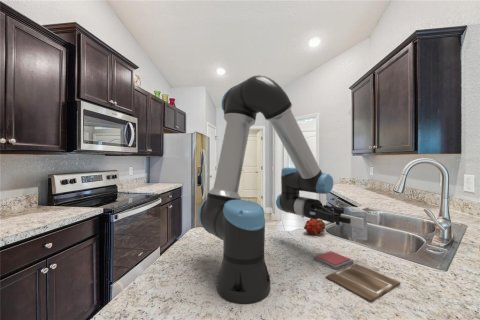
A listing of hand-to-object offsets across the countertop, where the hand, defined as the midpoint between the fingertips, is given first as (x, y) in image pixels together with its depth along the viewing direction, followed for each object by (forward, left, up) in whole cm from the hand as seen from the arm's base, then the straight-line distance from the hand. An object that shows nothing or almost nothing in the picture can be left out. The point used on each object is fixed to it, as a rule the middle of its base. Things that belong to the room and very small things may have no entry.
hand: (370, 221), depth 62 cm
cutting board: (-2, +1, -18) cm, 18 cm away
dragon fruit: (+20, +37, -18) cm, 45 cm away
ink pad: (+2, +14, -18) cm, 22 cm away
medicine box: (0, +5, -6) cm, 8 cm away
